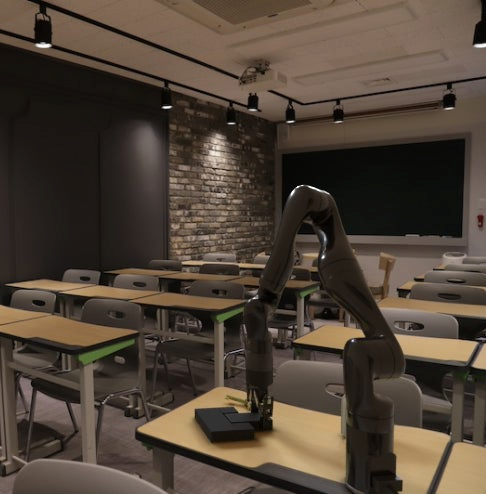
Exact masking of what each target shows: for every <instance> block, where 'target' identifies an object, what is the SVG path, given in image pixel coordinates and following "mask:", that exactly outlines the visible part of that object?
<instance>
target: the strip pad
mask: <svg viewBox="0 0 486 494" xmlns="http://www.w3.org/2000/svg"><path fill="white" fill-rule="evenodd" d="M224 416H225V417H226V418H227V419H228V421H229V422H230V423H231V424H232V423H249V424H250V425H251V426H252V427H253V428H254V429H255V432H268V431H269V432H270V431H274V420H273V419H272V417H268V429H267V430H261V429H260V413H259V412H251V411H249V412H239V413H231V414H224Z"/></svg>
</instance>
